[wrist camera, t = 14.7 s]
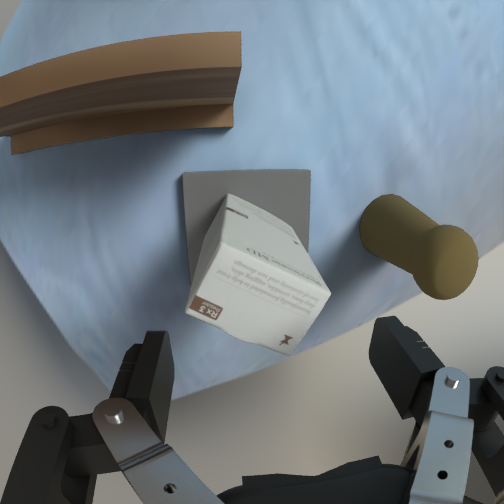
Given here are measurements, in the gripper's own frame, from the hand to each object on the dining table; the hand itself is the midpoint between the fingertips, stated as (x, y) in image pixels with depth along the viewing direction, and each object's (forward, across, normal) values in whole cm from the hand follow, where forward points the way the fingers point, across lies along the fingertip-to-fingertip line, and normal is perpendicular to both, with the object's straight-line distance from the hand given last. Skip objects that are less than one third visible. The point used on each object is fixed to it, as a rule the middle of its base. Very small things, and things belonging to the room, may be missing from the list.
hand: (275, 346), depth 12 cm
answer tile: (+16, 0, 0) cm, 16 cm away
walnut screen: (+16, +11, -11) cm, 22 cm away
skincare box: (+15, 0, 0) cm, 16 cm away
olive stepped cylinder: (+16, -13, 0) cm, 21 cm away
